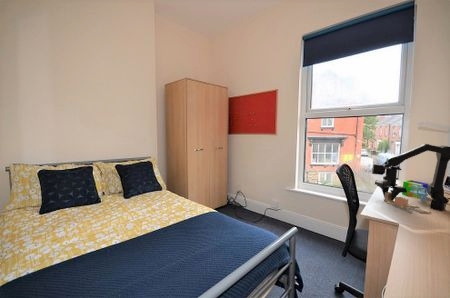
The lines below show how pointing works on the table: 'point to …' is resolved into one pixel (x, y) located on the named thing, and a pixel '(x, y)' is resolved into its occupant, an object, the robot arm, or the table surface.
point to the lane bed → (409, 208)
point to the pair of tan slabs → (419, 209)
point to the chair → (419, 192)
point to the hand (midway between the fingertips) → (388, 198)
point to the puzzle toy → (409, 188)
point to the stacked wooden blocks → (388, 199)
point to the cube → (401, 201)
